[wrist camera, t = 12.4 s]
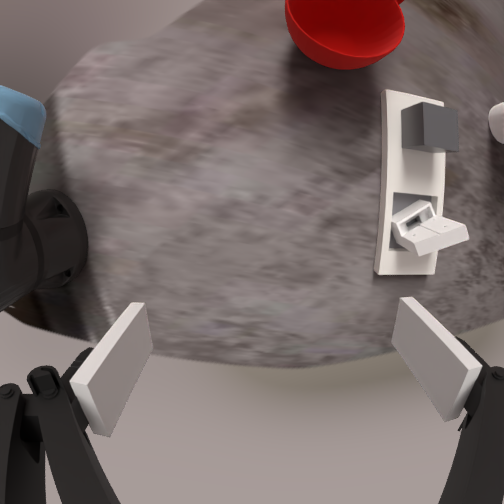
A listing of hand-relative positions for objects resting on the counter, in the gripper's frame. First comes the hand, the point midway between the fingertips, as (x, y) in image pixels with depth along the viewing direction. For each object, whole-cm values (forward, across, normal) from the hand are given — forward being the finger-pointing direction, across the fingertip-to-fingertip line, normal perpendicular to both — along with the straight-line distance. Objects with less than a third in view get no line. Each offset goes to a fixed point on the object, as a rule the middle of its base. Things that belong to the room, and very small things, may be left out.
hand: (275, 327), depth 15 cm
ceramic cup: (+25, +11, +26) cm, 38 cm away
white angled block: (+24, +20, +1) cm, 31 cm away
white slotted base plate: (+24, +20, +6) cm, 32 cm away
